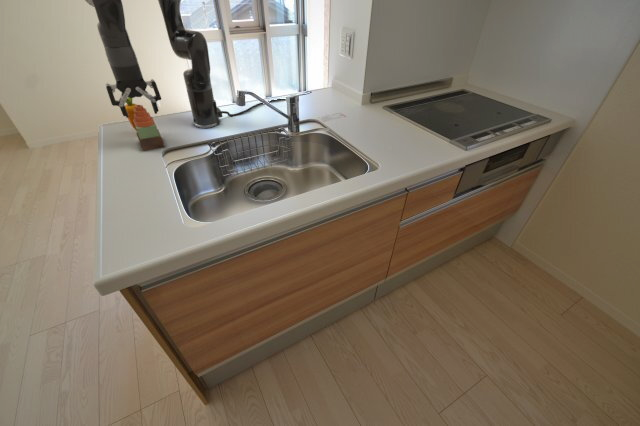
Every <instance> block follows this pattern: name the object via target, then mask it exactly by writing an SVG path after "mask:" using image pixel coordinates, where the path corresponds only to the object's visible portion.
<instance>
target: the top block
mask: <svg viewBox="0 0 640 426" xmlns="http://www.w3.org/2000/svg"><path fill="white" fill-rule="evenodd" d="M136 129H137V131H136V132H138V135H139V137H140V140H141V139H147V138H153V137H158V136H159V133H160V132H159V133H158V130H159V129H158V127H157V125H156V122H155V121H154V124H153V125H152V126H149V127H136ZM157 129H158V130H157Z"/></svg>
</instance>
